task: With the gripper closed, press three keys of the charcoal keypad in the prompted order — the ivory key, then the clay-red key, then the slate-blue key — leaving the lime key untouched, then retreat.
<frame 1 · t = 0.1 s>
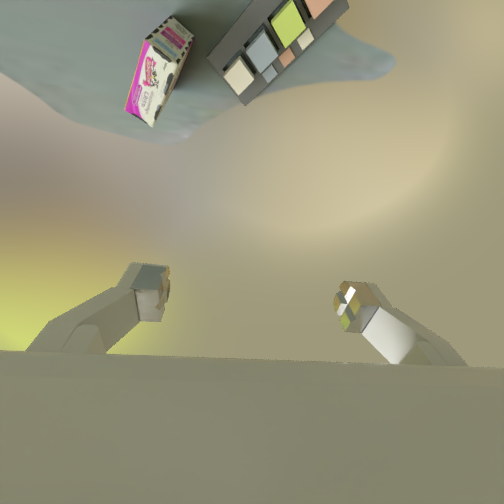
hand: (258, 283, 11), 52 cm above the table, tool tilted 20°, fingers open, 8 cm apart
key ivory: (239, 75, 45), point 4 cm above the table, slide at 0.0 cm
candy bar box: (171, 56, 45), on the table
key lime: (287, 23, 39), point 4 cm above the table, slide at 0.0 cm
key slate: (261, 51, 42), point 4 cm above the table, slide at 0.0 cm
keypad board: (273, 32, 43), on the table
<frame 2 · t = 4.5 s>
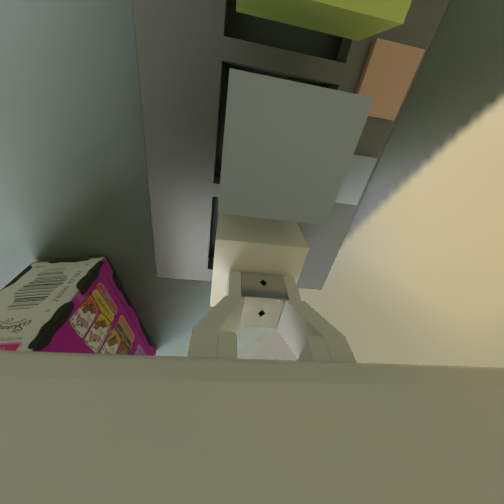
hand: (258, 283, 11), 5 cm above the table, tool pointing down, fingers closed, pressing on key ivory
key ivory: (253, 257, 12), point 3 cm above the table, slide at 0.7 cm, touching gripper
candy bar box: (106, 312, 18), on the table
key slate: (278, 149, 9), point 4 cm above the table, slide at 0.0 cm
keypad board: (279, 64, 10), on the table
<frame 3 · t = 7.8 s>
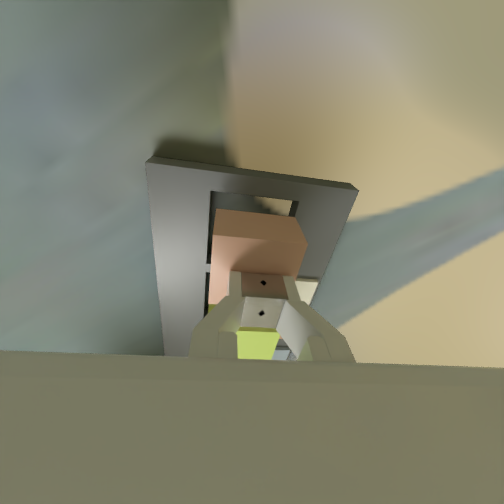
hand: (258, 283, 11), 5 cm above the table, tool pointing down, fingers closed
key clay: (251, 254, 12), point 3 cm above the table, slide at 0.4 cm, touching gripper
key lime: (239, 327, 15), point 4 cm above the table, slide at 0.0 cm
keypad board: (234, 312, 19), on the table
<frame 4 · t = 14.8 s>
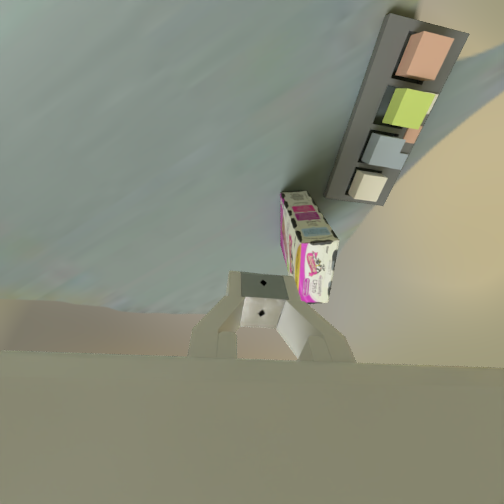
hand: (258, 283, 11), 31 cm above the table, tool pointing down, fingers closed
key ivory: (365, 185, 39), point 2 cm above the table, slide at 1.5 cm
candy bar box: (291, 218, 44), on the table
key clay: (420, 58, 30), point 2 cm above the table, slide at 1.5 cm
key lime: (404, 109, 32), point 4 cm above the table, slide at 0.0 cm
key slate: (380, 149, 36), point 2 cm above the table, slide at 1.5 cm
keypad board: (382, 128, 36), on the table
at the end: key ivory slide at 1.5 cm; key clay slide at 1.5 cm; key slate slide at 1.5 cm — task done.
